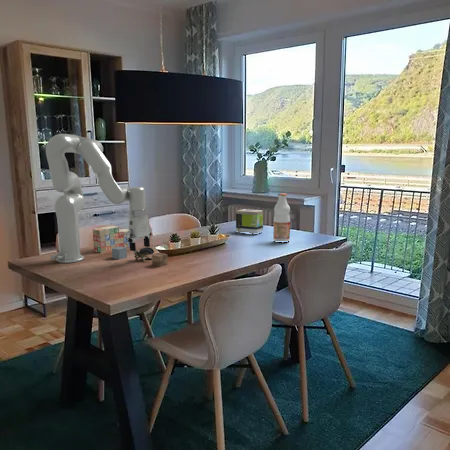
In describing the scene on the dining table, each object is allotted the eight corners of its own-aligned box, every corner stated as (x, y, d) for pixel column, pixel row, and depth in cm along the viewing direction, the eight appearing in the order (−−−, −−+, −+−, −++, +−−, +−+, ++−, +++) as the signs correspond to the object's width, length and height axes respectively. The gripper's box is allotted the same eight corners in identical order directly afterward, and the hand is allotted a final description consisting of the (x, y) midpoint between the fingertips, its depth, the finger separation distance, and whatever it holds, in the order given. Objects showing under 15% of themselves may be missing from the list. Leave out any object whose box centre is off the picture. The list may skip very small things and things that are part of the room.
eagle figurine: (138, 261, 208) (156, 255, 212) (133, 247, 210) (150, 242, 214) (136, 266, 215) (153, 260, 219) (130, 253, 216) (148, 247, 221)
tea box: (263, 232, 284) (263, 210, 281) (256, 235, 275) (256, 212, 273) (242, 230, 291) (242, 208, 289) (235, 233, 283) (235, 210, 280)
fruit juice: (270, 241, 259) (270, 193, 254) (283, 239, 263) (284, 192, 258) (279, 244, 250) (280, 194, 246) (292, 242, 255) (294, 194, 250)
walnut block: (160, 267, 203) (160, 256, 202) (152, 265, 205) (151, 255, 204) (167, 264, 207) (167, 254, 206) (159, 263, 209) (159, 252, 209)
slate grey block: (119, 259, 216) (119, 249, 215) (112, 258, 219) (112, 248, 218) (127, 257, 220) (126, 247, 220) (119, 256, 223) (119, 246, 222)
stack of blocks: (125, 244, 250) (125, 223, 247) (133, 246, 246) (132, 224, 244) (93, 251, 233) (92, 228, 231) (100, 253, 229) (99, 230, 227)
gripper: (130, 216, 200) (133, 253, 203) (156, 211, 214) (158, 245, 217) (118, 215, 204) (121, 251, 207) (144, 210, 218) (146, 244, 221)
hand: (140, 248), depth 212 cm, fingers open, 9 cm apart
